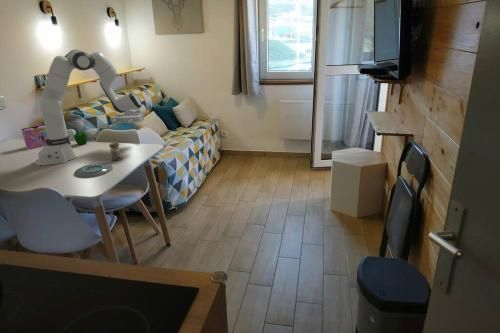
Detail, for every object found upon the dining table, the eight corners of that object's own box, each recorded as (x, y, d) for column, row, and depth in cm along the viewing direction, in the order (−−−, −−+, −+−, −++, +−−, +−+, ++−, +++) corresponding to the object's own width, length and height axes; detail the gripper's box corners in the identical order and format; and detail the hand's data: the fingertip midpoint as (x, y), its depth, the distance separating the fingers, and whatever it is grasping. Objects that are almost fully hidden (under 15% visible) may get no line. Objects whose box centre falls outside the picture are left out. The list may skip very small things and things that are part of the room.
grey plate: (75, 180, 188) (74, 177, 187) (74, 168, 204) (73, 165, 204) (114, 173, 196) (113, 170, 195) (110, 162, 212) (110, 159, 212)
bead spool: (112, 161, 213) (109, 146, 209) (111, 159, 218) (108, 143, 214) (122, 160, 215) (119, 144, 212) (121, 157, 220) (118, 142, 216)
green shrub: (86, 145, 246) (83, 131, 242) (74, 146, 245) (71, 132, 242) (90, 141, 254) (87, 128, 250) (78, 142, 253) (75, 129, 250)
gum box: (62, 139, 262) (57, 121, 257) (65, 141, 257) (61, 123, 252) (26, 147, 247) (20, 128, 242) (29, 149, 241) (23, 130, 236)
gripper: (115, 111, 232) (104, 117, 220) (144, 111, 229) (134, 117, 216) (118, 120, 235) (107, 127, 223) (146, 120, 231) (136, 127, 219)
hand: (120, 122), depth 220 cm, fingers open, 8 cm apart
